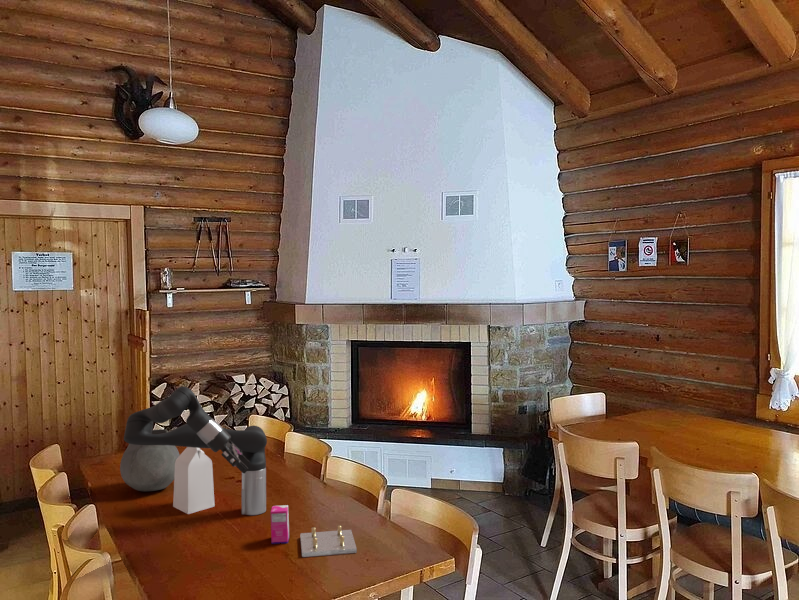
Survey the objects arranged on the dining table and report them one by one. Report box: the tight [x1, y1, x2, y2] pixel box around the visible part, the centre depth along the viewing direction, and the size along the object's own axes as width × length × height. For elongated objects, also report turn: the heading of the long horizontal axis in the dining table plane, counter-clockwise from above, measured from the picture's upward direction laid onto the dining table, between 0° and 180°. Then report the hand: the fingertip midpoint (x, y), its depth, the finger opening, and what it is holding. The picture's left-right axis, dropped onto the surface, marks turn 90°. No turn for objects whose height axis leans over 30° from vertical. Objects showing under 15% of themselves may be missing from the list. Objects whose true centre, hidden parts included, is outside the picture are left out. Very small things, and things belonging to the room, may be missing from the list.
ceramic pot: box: [119, 428, 181, 492], centre depth 270 cm, size 24×24×25 cm
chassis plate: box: [299, 524, 358, 558], centre depth 213 cm, size 18×16×4 cm
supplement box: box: [270, 504, 290, 545], centre depth 217 cm, size 6×6×12 cm
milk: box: [172, 447, 216, 515], centre depth 250 cm, size 12×12×26 cm
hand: (247, 468), depth 215 cm, fingers open, 8 cm apart
